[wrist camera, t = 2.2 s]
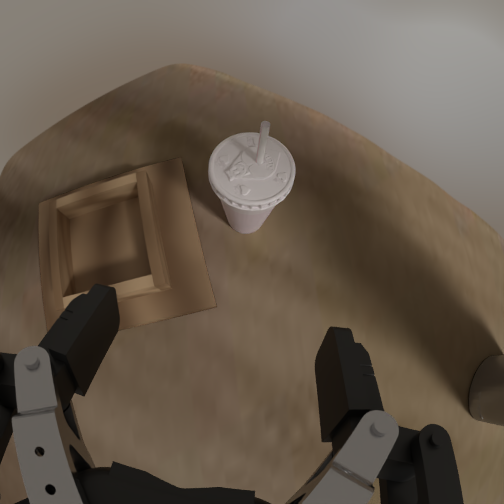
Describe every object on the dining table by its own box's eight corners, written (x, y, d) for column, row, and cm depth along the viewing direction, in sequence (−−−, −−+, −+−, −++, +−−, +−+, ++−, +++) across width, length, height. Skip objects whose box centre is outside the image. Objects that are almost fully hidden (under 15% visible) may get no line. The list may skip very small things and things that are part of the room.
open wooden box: (182, 162, 31) (177, 140, 27) (216, 306, 27) (214, 302, 23) (43, 207, 29) (25, 192, 25) (55, 343, 25) (33, 342, 21)
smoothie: (289, 228, 30) (331, 148, 16) (233, 258, 29) (236, 191, 15) (256, 178, 31) (273, 81, 18) (202, 205, 30) (186, 112, 16)
